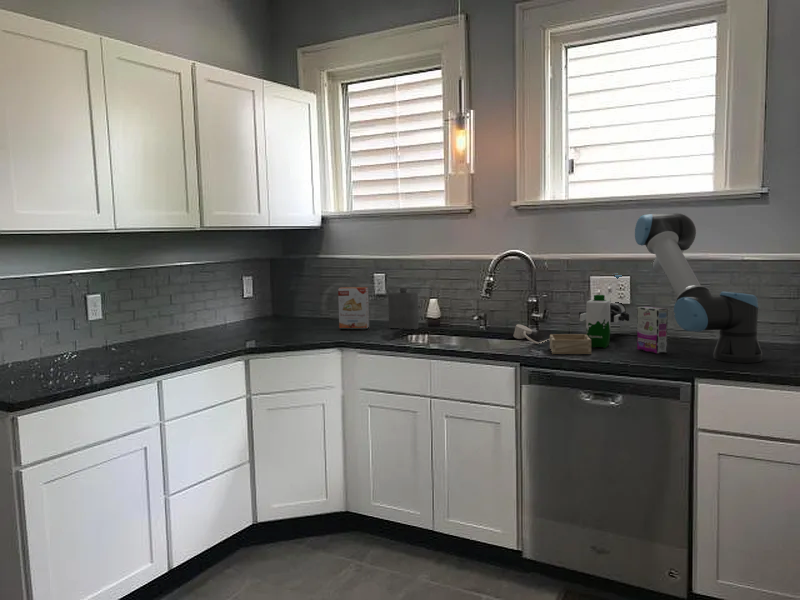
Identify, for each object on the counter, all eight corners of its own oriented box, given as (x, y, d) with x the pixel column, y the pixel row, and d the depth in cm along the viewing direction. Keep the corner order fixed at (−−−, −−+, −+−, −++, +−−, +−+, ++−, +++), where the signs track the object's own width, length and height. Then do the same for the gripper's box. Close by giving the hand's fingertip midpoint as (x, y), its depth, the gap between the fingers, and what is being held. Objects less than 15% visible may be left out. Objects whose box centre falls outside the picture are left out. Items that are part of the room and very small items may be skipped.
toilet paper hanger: (539, 342, 276) (505, 327, 285) (536, 353, 277) (502, 338, 286) (559, 335, 292) (527, 321, 301) (556, 346, 294) (524, 331, 302)
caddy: (591, 354, 250) (591, 340, 249) (552, 354, 252) (552, 340, 251) (586, 348, 264) (586, 334, 263) (549, 348, 266) (549, 334, 265)
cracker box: (339, 330, 330) (337, 288, 328) (342, 328, 336) (340, 287, 334) (367, 330, 328) (365, 287, 326) (369, 328, 334) (368, 286, 332)
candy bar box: (668, 352, 249) (668, 308, 247) (657, 354, 247) (657, 309, 246) (646, 348, 259) (647, 305, 258) (636, 349, 258) (636, 306, 256)
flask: (420, 327, 331) (419, 287, 329) (416, 329, 326) (415, 288, 323) (392, 327, 336) (390, 287, 334) (387, 329, 331) (386, 288, 329)
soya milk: (611, 344, 269) (611, 294, 267) (607, 348, 261) (607, 297, 259) (589, 343, 273) (589, 294, 271) (584, 347, 265) (584, 296, 263)
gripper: (643, 322, 277) (629, 329, 260) (584, 319, 291) (566, 326, 274) (643, 304, 277) (629, 310, 259) (584, 302, 290) (566, 308, 273)
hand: (597, 318), depth 266 cm, fingers open, 13 cm apart
